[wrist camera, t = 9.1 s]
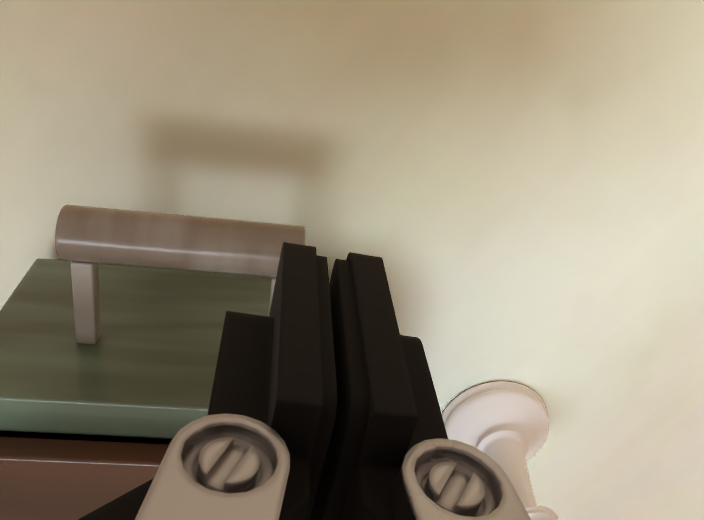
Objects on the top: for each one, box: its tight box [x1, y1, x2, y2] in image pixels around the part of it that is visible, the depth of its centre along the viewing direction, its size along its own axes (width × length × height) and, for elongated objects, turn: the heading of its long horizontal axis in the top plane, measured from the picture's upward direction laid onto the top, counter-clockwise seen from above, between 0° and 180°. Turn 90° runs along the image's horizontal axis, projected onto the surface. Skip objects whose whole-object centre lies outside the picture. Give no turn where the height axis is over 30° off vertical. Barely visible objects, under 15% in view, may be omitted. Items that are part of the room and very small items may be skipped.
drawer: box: [0, 205, 330, 444], centre depth 23 cm, size 17×11×7 cm, turn 172°
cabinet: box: [0, 431, 169, 520], centre depth 25 cm, size 14×13×9 cm
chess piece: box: [442, 381, 558, 520], centre depth 26 cm, size 5×5×10 cm
